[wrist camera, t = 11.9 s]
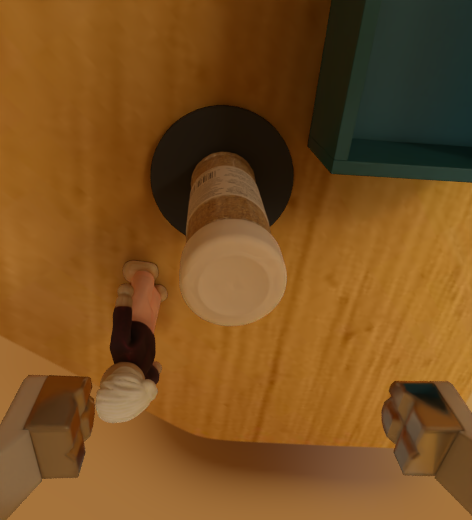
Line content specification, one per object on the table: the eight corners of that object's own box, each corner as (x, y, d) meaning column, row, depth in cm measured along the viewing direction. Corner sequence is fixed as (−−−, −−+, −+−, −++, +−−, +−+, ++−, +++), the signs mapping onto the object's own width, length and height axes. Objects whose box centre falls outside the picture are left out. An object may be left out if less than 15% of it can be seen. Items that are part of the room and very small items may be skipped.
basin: (358, -166, 20) (412, -236, 15) (588, -133, 22) (714, -188, 16) (307, 146, 28) (330, 174, 23) (478, 158, 29) (540, 187, 24)
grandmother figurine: (101, 259, 31) (43, 382, 20) (145, 241, 31) (111, 358, 20) (149, 329, 35) (121, 467, 24) (189, 315, 34) (180, 448, 23)
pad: (149, 99, 26) (148, 100, 25) (302, 110, 27) (304, 112, 26) (152, 239, 31) (151, 242, 30) (282, 245, 32) (283, 248, 31)
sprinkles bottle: (213, 222, 30) (215, 346, 18) (177, 170, 28) (155, 272, 16) (267, 191, 29) (307, 301, 17) (235, 135, 27) (255, 216, 15)
